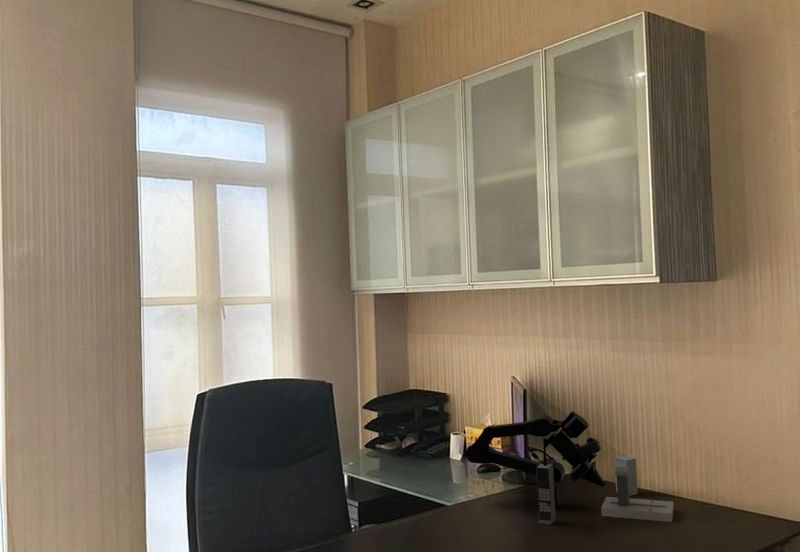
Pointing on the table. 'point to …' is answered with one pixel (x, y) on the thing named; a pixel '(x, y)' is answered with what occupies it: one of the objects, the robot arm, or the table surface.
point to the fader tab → (623, 485)
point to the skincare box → (631, 464)
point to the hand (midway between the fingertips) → (604, 485)
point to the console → (639, 509)
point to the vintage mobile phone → (546, 491)
